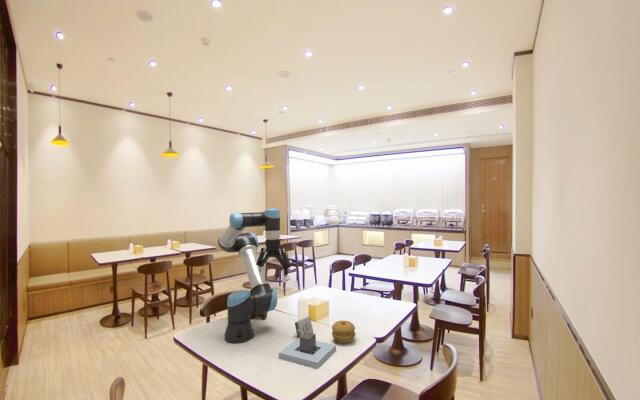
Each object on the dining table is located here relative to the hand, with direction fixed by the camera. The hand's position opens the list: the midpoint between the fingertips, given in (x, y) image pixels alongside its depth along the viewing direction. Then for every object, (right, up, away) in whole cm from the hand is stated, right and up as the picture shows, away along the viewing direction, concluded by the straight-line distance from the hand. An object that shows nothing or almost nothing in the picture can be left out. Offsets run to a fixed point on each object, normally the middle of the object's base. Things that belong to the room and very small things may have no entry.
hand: (273, 280), depth 156 cm
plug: (+18, -30, -15) cm, 38 cm away
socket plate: (+18, -30, -15) cm, 38 cm away
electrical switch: (+15, -31, +5) cm, 35 cm away
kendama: (-13, -32, +35) cm, 50 cm away
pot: (+36, -30, -1) cm, 47 cm away
